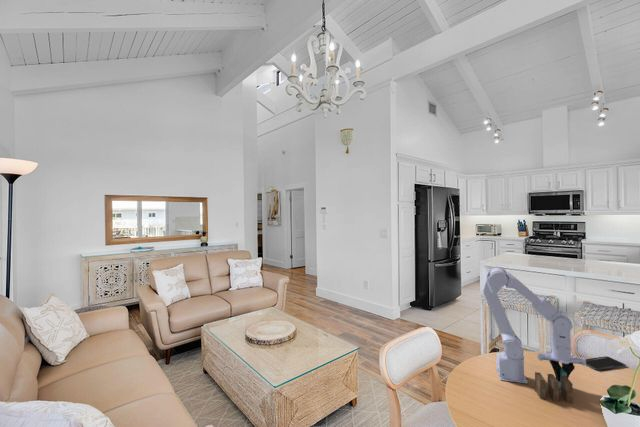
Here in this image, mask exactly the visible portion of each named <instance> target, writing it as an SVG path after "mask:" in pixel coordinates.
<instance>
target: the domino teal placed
mask: <svg viewBox="0 0 640 427" xmlns="http://www.w3.org/2000/svg"><path fill="white" fill-rule="evenodd" d="M561 375H562V376H566V377H567V373H566V372H565V370H564V369H563V368H562V366H561V370H560V382H559V381H558V382H559V389H560V390H561Z"/></svg>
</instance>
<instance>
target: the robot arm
mask: <svg viewBox="0 0 640 427" xmlns="http://www.w3.org/2000/svg"><path fill="white" fill-rule="evenodd" d="M504 286H505V288H506V289H514V290H515V291H516V292H517V293H519V294H520V295H522V296H523V297H524V298H525V299H526V300H528V301H529V302H530V303H531V308H532V309H534V310H535V311H536V312H537V313H538V314H540V315H541V316H542V317H543V318H544V319H545V320H546V321H548V322H551V336H550V338H551V352H545V353H543V352H537V358H538V360H539V361H548V362H549V363H550V365H551V368H552V369H553V372H554V373H553V374H554V377H555V378H556V379H557V381H559V382H560V370H561V367H562V368H563V369H564V370H565V372H566V373H567V378H568V379H569V377H570V375H571V374H572V372H573V371H574V370H575V369H576V368H575V365H574V364H577V365H582V366H585V367H587V366H586V360H585V359H586V358H584V357H579V356H574V355H572V346H571V345H572V342H571V341H572V339H571V338H572V336H571V331H572V329H573V328H574V326H573V323H572V321H571V319H570V317H569V316H568V315H567V314H566V313H565V311H564V312H563V309H560V308H557V306H555V305H554V304H553V303H552V300H550V298H547V299H546V298H545V297H543V296H538V295H537V294H535V293H534V292H533V291H532V290H530V288H529V287H527V286H526V285H525V283H523V282H522V281H521V280H520V279H518V278H517V277H516V276H514V275H513V274H512V273H510V272H509V271H507V270H506V269H505V268H503V267H501V266H494V267H492V268H491V269H490V271H488V273H487V274H486V278H485V283H484V286H483V290H482V291H483V295H484V297H485V300H486V303H487V305H488V306H489V309H490V312H491V314H492V316H493V319H494V320H495V321H494V322H495V323H496V326H497V328H498V331H499V333H500V335H501V339H502V342H503V345H504V346H503V347H504V348H503V350H502V352H497V353H496V354H495V360H496V361H495V363H496V368H495V371H496V372H497V376H498V377H499V380H501V381H504V382H505V381H506V382H513V383H514V382H515V383H520V384H529V382H528V380H527V378H526V377H525V355H524V350H523V346H522V345H523V344H522V340H521V338H519V337H518V335H517V334H516V333H515V331H514V329H513V327H512V324H511V322H510V320H509V318H508V316H507V313H506V311H505V309H504V306H503V304H502V302H501V299H500V298H499V297H500V296H499V295H498V292H499V291H500V289H501V288H503V287H504ZM560 364H561V365H560Z"/></svg>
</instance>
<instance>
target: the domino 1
mask: <svg viewBox="0 0 640 427" xmlns="http://www.w3.org/2000/svg"><path fill="white" fill-rule="evenodd" d="M534 390H535V392H536V394H537V396H538V398H539V399H540V400H546V379H545V377H543V375H542V373H541V372H538V371H537V372H536V371H535V372H534Z"/></svg>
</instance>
